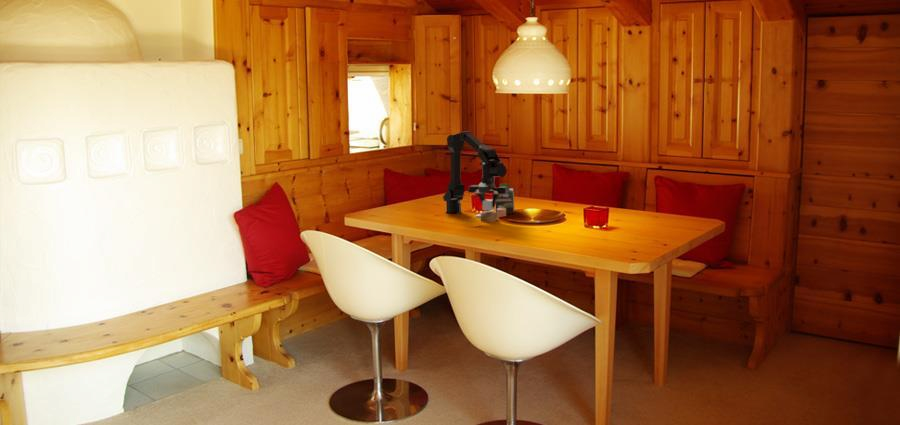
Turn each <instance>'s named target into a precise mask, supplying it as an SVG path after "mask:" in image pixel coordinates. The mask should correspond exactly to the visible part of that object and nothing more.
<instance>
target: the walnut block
mask: <svg viewBox="0 0 900 425" xmlns="http://www.w3.org/2000/svg"><path fill="white" fill-rule="evenodd" d="M480 214H481V217H480V222H490V223H492V222H495V221H497V220H498V217H497V212H496V211H493V210H492V211H491V210H483V211H482V212H480Z"/></svg>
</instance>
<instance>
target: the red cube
mask: <svg viewBox="0 0 900 425" xmlns="http://www.w3.org/2000/svg"><path fill="white" fill-rule="evenodd" d="M501 216H506V217H507V214H506V208H498V209H497V218H500V217H501Z"/></svg>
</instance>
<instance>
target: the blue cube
mask: <svg viewBox="0 0 900 425" xmlns="http://www.w3.org/2000/svg"><path fill="white" fill-rule="evenodd" d="M493 210H496V205H495V206H494V208H493V198H492V199H489V198H487V199H486V198H485V200H483V205H482V211H493Z"/></svg>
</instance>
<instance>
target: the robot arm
mask: <svg viewBox="0 0 900 425" xmlns="http://www.w3.org/2000/svg"><path fill="white" fill-rule="evenodd" d="M465 143H466V144H468V145H469V146H470V148H472V149H473V150H474V151H475V152H476V153H477V156H478V158H479V159H480V160H481V161H480V162H479V163H478V165H479V166H482V167H481V169H482V170H481V173H482V176H481V178H480V180H481V181H480V182H479V184H472V185H469V186H468V188H467V189H468V190H467V191H468V193H475V194H474V195H476V196H478V197H479V199H480V203H481V205H482V206H483V200H485V199H486V194H487V193H489V192H491V193H492V192H493V193H492V200H493V208H494V206H495V207H496V201H497V199H498V197H499V195H500V194H506V193H508V192H509V188H510V187H509V188H508V187H507V186H500V185H499V186H498V187H496V184H495V179H496V178H497V177H498V178H504V177H505V176H506V174H508V172H507V171H508V169H507V167H506V165H504V162H503V161H501V160H500V158H499V155H498V154H497V151H496V149H495V148H493V147H491V146H489V145H485V144H484V143H483V142H482V141H481V140H480V139H478V138H477V137H476V136H475V135H473V134H472V132H471V131H469V130H466V131H465V130H464V131H461V132H459V133H454V134H449V135H448V136H447V137H446V145H447V148H448V150H449V152H450V180H449V183H448V184H447V188H446V192H445V194H444V195H443V196H442V198H443V201H444V202H446V211H445V214H459V213H462V203H461V201H463V199H464V195H465V192H466V191H465V186H466V185H465V183H464V184H463V182H462V180H461V175H462V174H461V169H462V168H461V166H462V165H461V164H462V163H461V161H462V160H461V158H462V157H461V154H462V153H461V152H462V151H463V149H464V147H465Z"/></svg>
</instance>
